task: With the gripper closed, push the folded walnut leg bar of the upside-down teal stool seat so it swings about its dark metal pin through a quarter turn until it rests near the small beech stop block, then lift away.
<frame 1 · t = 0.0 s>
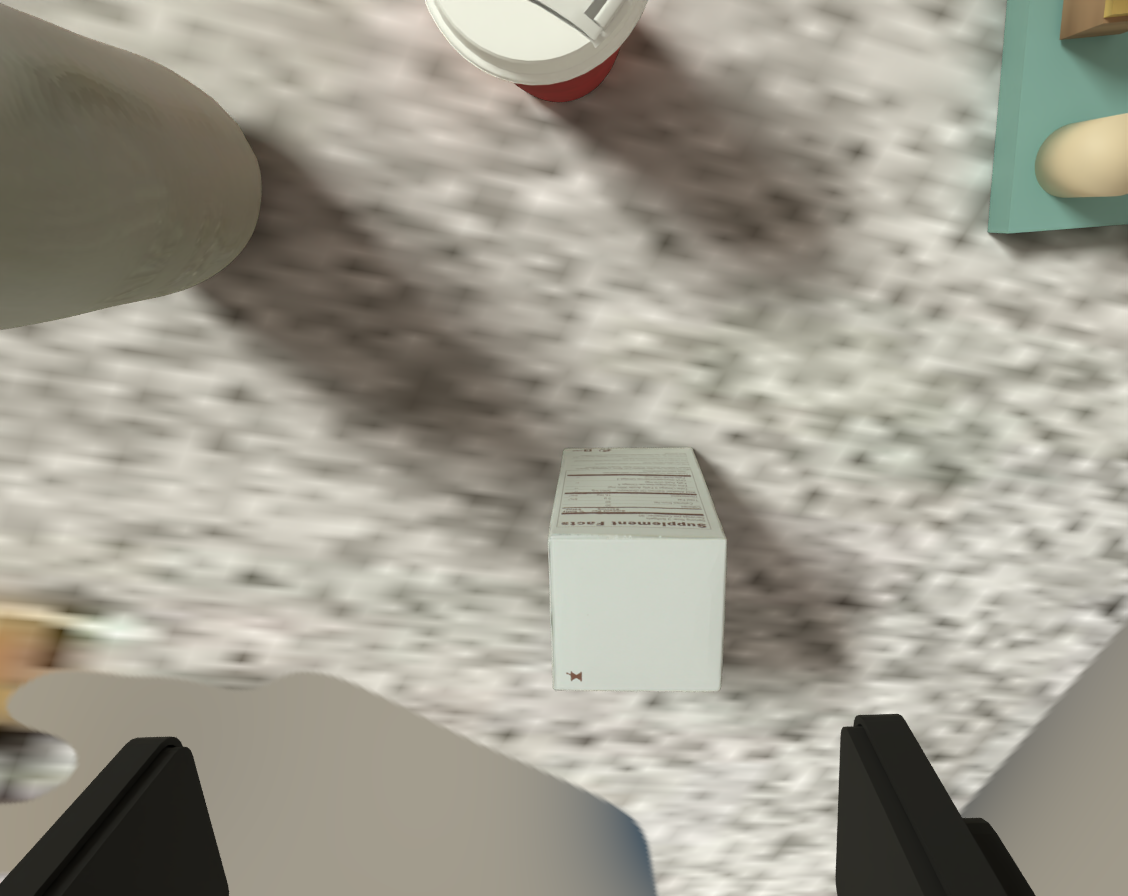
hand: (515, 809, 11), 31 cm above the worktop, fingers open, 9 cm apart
paper cup: (558, 38, 36), on the worktop
grey ceramic bottle: (200, 183, 39), on the worktop
supplement box: (627, 503, 43), on the worktop
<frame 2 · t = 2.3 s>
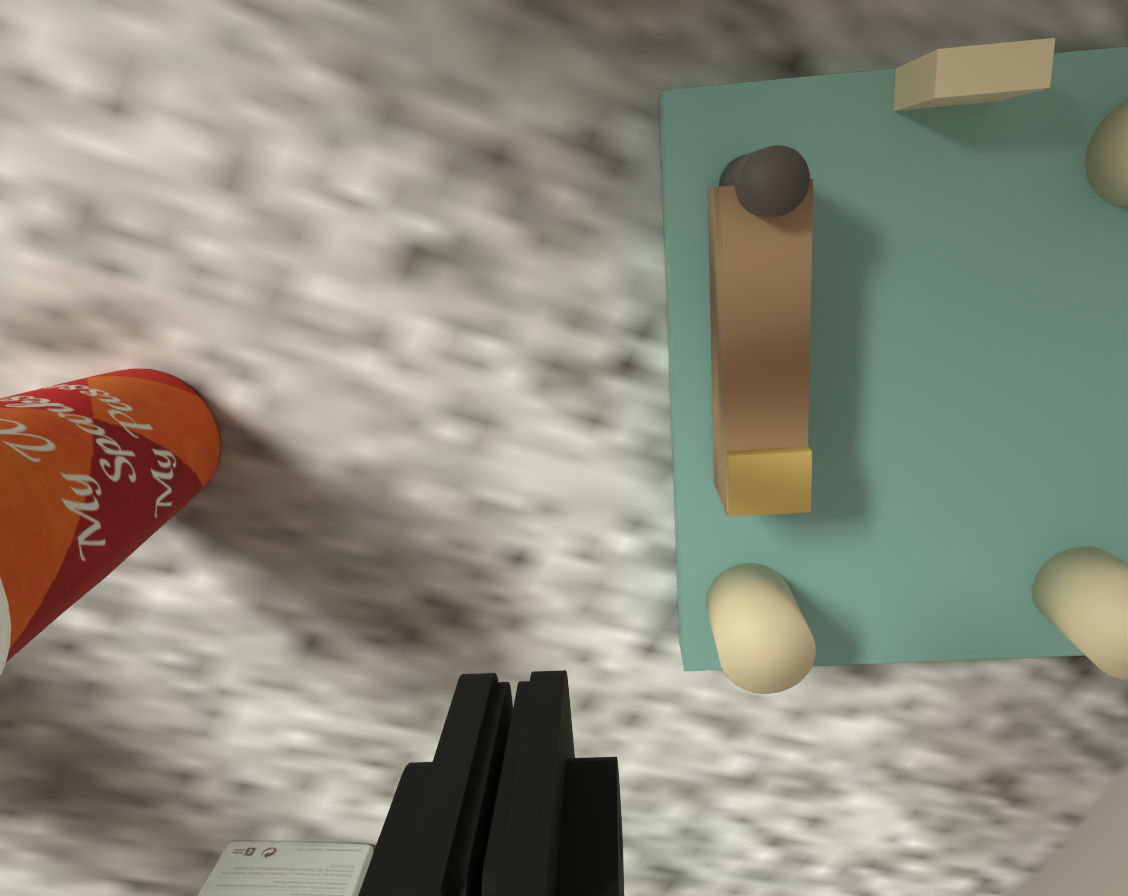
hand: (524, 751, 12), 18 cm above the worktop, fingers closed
paper cup: (154, 433, 30), on the worktop
folding leg: (760, 338, 23), point 4 cm above the worktop, hinge at 0.0°
stool seat: (901, 386, 28), on the worktop
supplement box: (312, 892, 37), on the worktop
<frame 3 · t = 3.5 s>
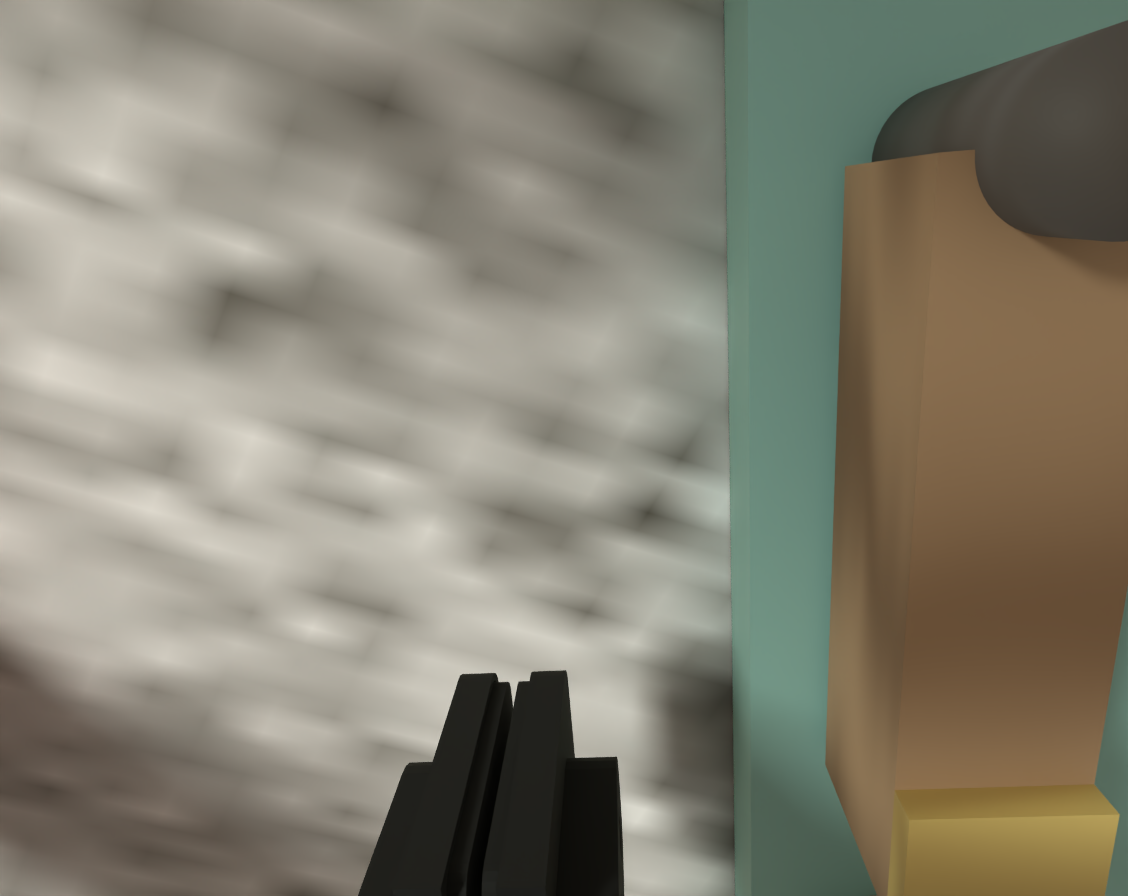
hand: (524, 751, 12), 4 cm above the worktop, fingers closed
folding leg: (979, 525, 10), point 4 cm above the worktop, hinge at 0.0°
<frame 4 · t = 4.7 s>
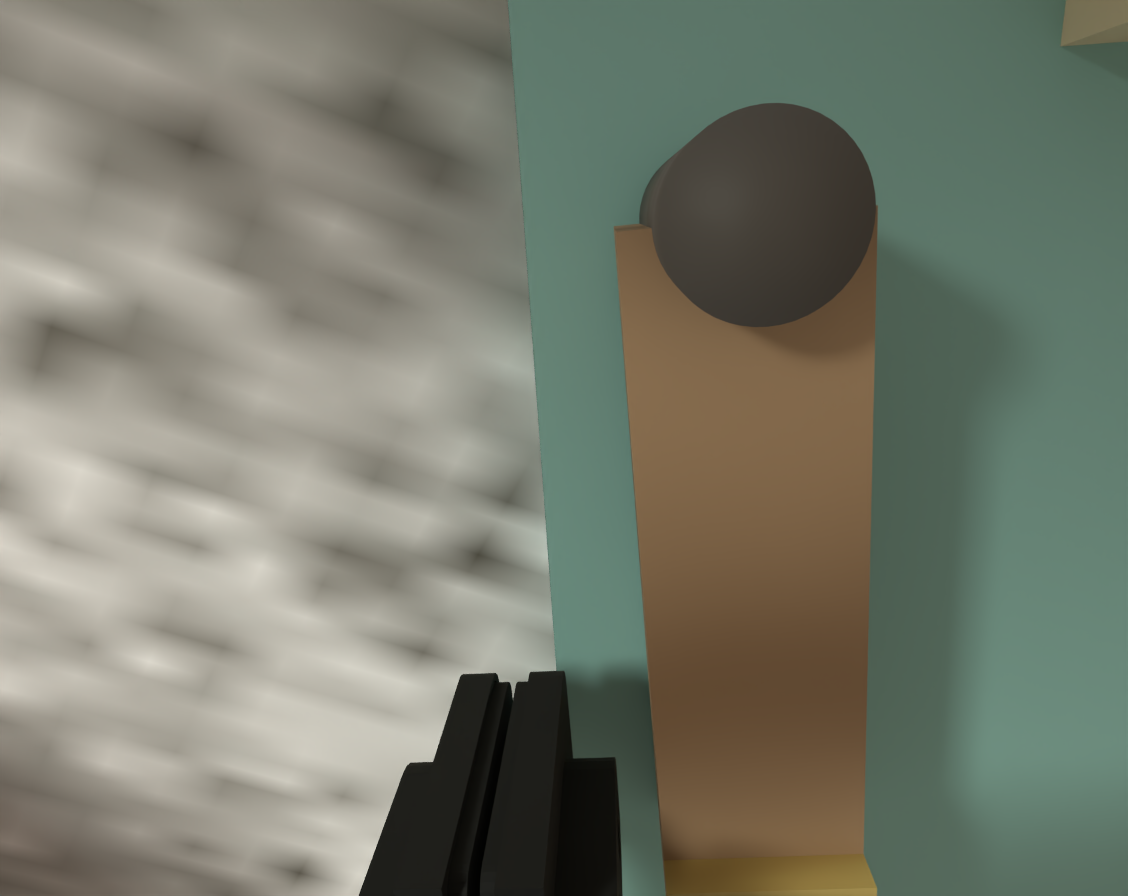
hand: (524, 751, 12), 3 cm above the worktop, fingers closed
folding leg: (741, 590, 10), point 4 cm above the worktop, hinge at 2.3°, touching gripper
stool seat: (1015, 613, 14), on the worktop
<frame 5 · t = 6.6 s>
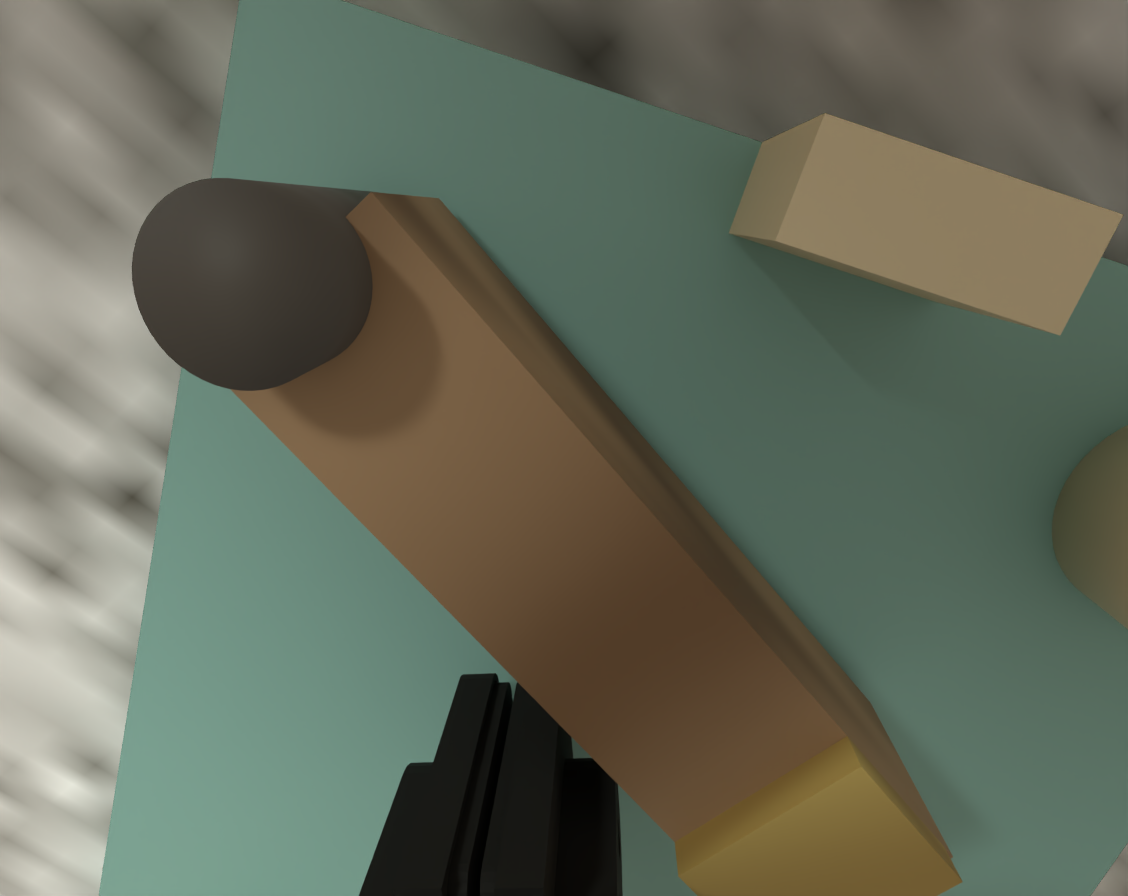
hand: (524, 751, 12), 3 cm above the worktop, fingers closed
folding leg: (583, 560, 9), point 4 cm above the worktop, hinge at 58.3°, touching gripper
stool seat: (613, 717, 15), on the worktop
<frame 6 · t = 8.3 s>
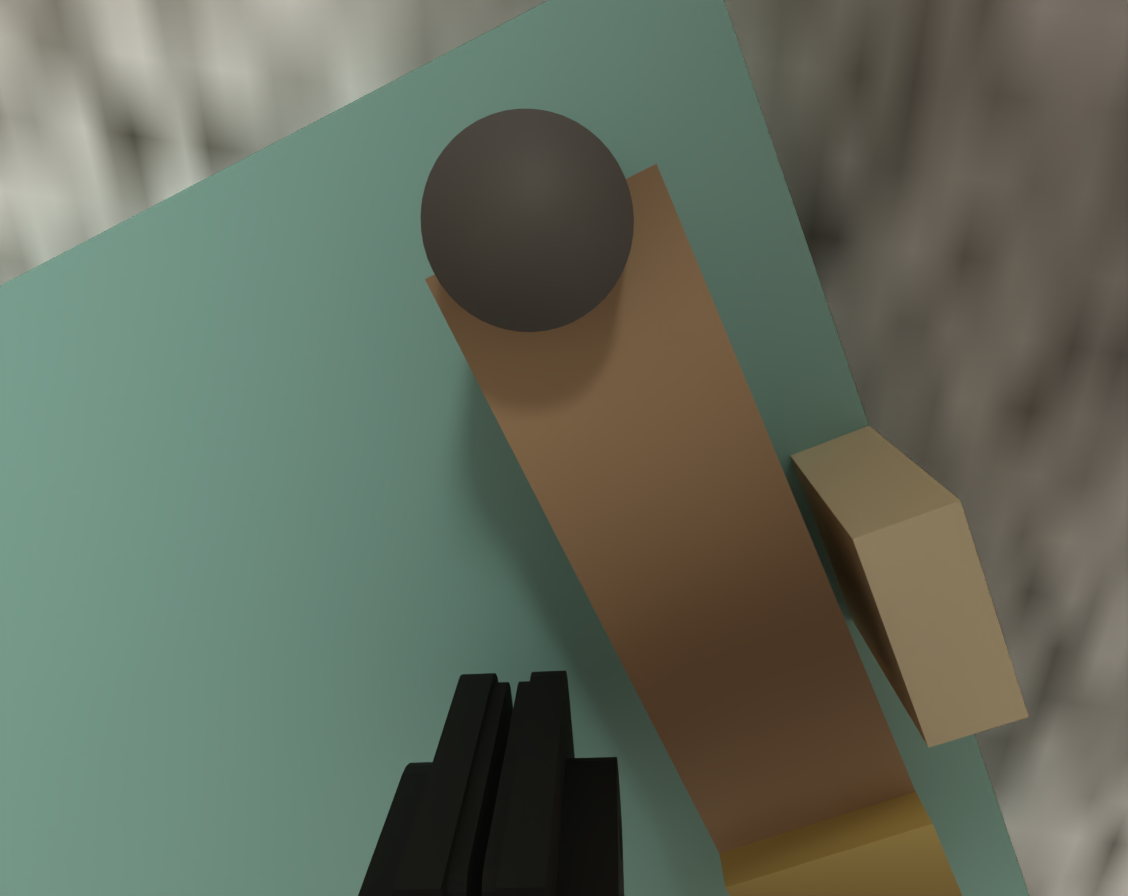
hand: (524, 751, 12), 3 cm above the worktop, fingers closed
folding leg: (703, 566, 9), point 4 cm above the worktop, hinge at 91.4°
stool seat: (346, 661, 15), on the worktop
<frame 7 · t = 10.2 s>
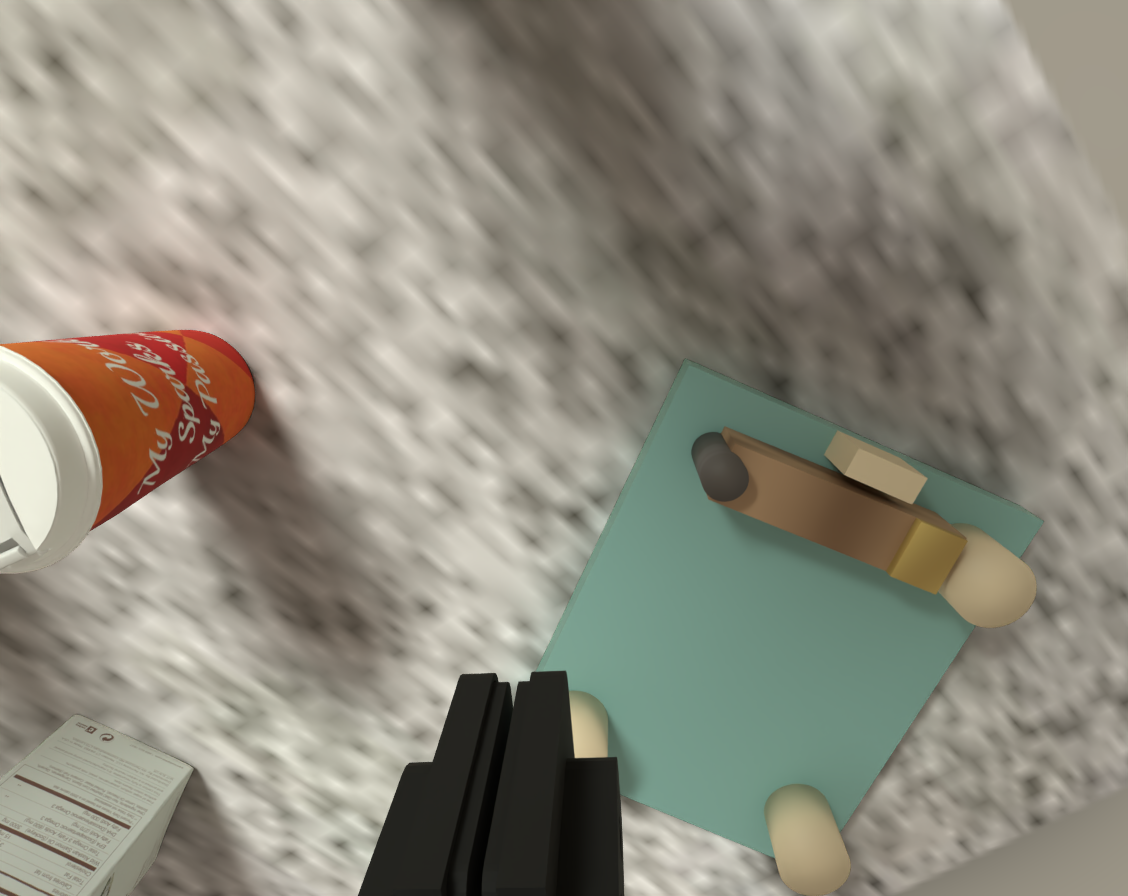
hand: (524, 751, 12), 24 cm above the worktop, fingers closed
paper cup: (200, 386, 36), on the worktop
folding leg: (820, 506, 31), point 4 cm above the worktop, hinge at 91.4°
stool seat: (749, 621, 37), on the worktop
supplement box: (121, 783, 42), on the worktop
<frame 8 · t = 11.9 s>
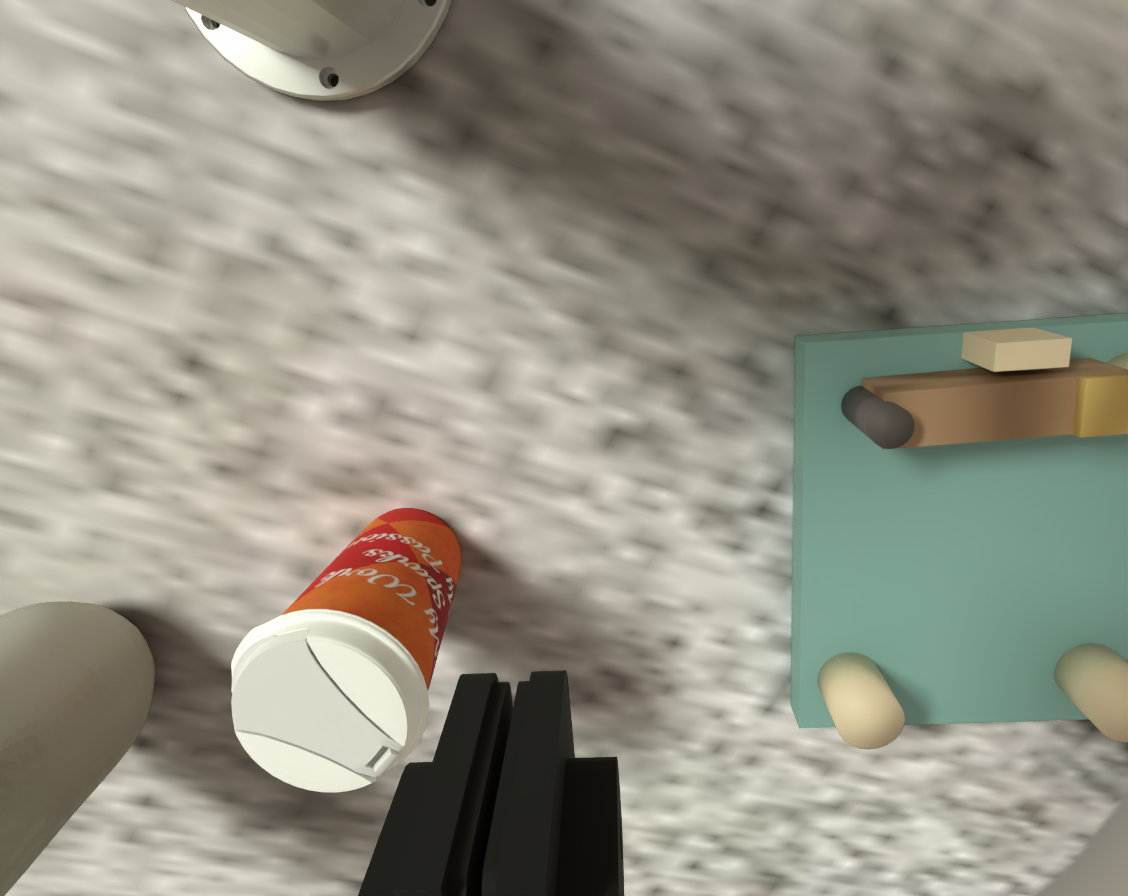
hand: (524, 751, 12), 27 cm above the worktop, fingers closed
paper cup: (411, 552, 41), on the worktop
folding leg: (983, 406, 33), point 4 cm above the worktop, hinge at 91.4°
grey ceramic bottle: (106, 645, 44), on the worktop
stool seat: (960, 526, 39), on the worktop
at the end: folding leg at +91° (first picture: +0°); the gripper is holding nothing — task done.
